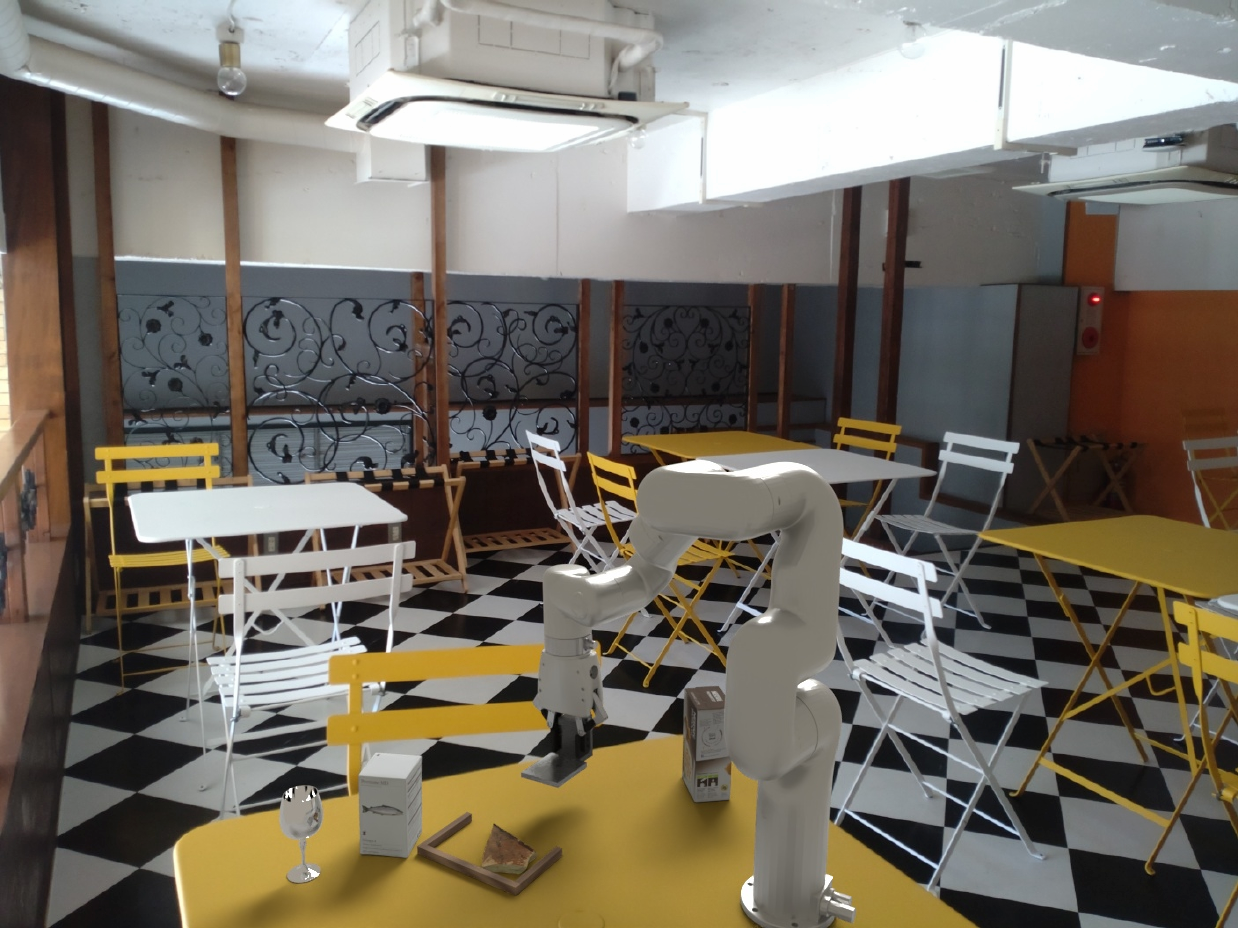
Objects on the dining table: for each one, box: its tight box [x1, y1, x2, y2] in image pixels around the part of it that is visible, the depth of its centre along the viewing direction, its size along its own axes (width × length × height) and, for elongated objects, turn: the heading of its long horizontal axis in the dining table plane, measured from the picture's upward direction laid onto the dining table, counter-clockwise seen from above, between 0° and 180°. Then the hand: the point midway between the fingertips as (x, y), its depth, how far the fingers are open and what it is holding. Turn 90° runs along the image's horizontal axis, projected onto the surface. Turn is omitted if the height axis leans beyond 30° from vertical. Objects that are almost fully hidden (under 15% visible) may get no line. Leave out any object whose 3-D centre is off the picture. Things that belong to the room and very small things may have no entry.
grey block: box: [520, 713, 594, 789], centre depth 146 cm, size 12×7×7 cm, turn 149°
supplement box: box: [357, 752, 423, 859], centre depth 136 cm, size 7×7×13 cm
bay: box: [416, 811, 563, 897], centre depth 134 cm, size 18×11×1 cm, turn 59°
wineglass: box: [278, 785, 324, 884], centre depth 128 cm, size 6×6×12 cm
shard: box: [480, 823, 538, 875], centre depth 135 cm, size 11×8×2 cm
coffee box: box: [681, 685, 733, 803], centre depth 153 cm, size 9×6×16 cm
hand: (570, 751), depth 149 cm, fingers closed on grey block, 4 cm apart
